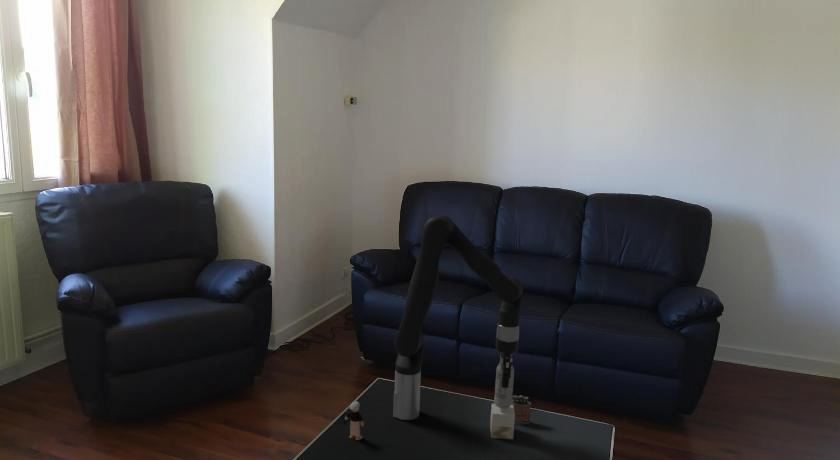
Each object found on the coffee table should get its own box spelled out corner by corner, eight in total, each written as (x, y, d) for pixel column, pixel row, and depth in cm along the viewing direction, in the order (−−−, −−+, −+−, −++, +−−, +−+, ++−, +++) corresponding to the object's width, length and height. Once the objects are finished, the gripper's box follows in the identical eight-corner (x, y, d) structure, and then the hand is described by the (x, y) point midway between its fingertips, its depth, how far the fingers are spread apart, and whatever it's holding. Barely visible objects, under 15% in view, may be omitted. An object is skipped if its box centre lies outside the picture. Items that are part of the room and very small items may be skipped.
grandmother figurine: (367, 436, 205) (367, 401, 202) (362, 441, 201) (363, 406, 199) (346, 431, 207) (347, 397, 205) (341, 437, 203) (342, 402, 201)
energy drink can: (515, 406, 207) (518, 365, 205) (501, 410, 204) (504, 369, 202) (503, 399, 212) (506, 359, 210) (490, 403, 209) (493, 362, 207)
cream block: (491, 425, 206) (492, 413, 205) (491, 415, 213) (491, 403, 213) (514, 427, 205) (514, 415, 205) (512, 416, 213) (513, 404, 212)
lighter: (529, 420, 220) (531, 394, 218) (530, 425, 216) (532, 399, 214) (507, 418, 220) (508, 393, 218) (507, 423, 217) (509, 397, 215)
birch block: (491, 438, 207) (491, 425, 206) (490, 427, 214) (490, 415, 213) (513, 439, 206) (514, 427, 206) (511, 428, 214) (512, 416, 213)
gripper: (495, 328, 211) (492, 373, 214) (497, 343, 197) (494, 391, 200) (516, 330, 211) (513, 375, 214) (520, 345, 196) (517, 393, 200)
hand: (504, 383), depth 207 cm, fingers closed on energy drink can, 6 cm apart
